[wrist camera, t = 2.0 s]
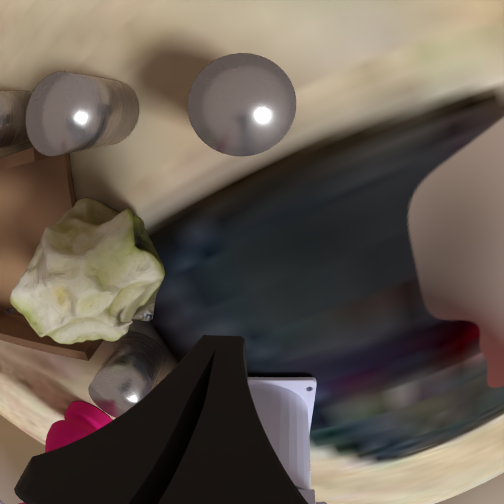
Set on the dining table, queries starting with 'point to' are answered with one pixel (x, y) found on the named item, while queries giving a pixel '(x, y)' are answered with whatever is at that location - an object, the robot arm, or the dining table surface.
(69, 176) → the tray
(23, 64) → the dining table surface
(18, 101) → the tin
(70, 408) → the pepper mill
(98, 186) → the dining table surface
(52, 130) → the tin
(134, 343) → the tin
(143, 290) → the pale green lumpy ball
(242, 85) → the grey metal cylinder
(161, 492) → the robot arm
